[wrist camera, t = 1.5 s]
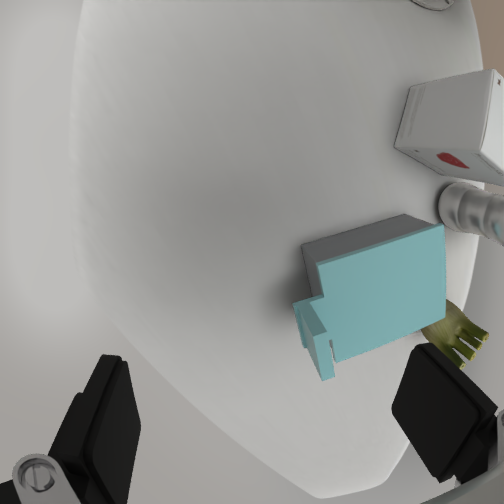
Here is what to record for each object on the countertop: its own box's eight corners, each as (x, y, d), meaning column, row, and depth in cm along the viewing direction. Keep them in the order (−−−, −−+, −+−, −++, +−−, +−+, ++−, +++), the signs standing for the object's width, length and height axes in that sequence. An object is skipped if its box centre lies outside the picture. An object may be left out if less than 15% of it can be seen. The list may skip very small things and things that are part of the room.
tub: (404, 213, 36) (437, 226, 29) (411, 291, 39) (439, 313, 33) (300, 244, 36) (319, 264, 29) (318, 325, 39) (335, 355, 32)
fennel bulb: (415, 332, 42) (459, 377, 30) (410, 307, 40) (459, 350, 29) (444, 313, 41) (492, 352, 30) (440, 288, 40) (493, 325, 29)
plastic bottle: (427, 190, 35) (552, 225, 16) (460, 173, 35) (578, 198, 16) (437, 234, 37) (550, 289, 18) (469, 215, 37) (578, 257, 18)
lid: (435, 221, 30) (477, 237, 23) (438, 311, 34) (472, 339, 27) (282, 269, 30) (301, 301, 23) (305, 363, 33) (323, 405, 26)
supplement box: (391, 148, 34) (478, 150, 19) (409, 85, 31) (493, 64, 17) (442, 177, 35) (528, 195, 21) (458, 119, 33) (541, 117, 19)
